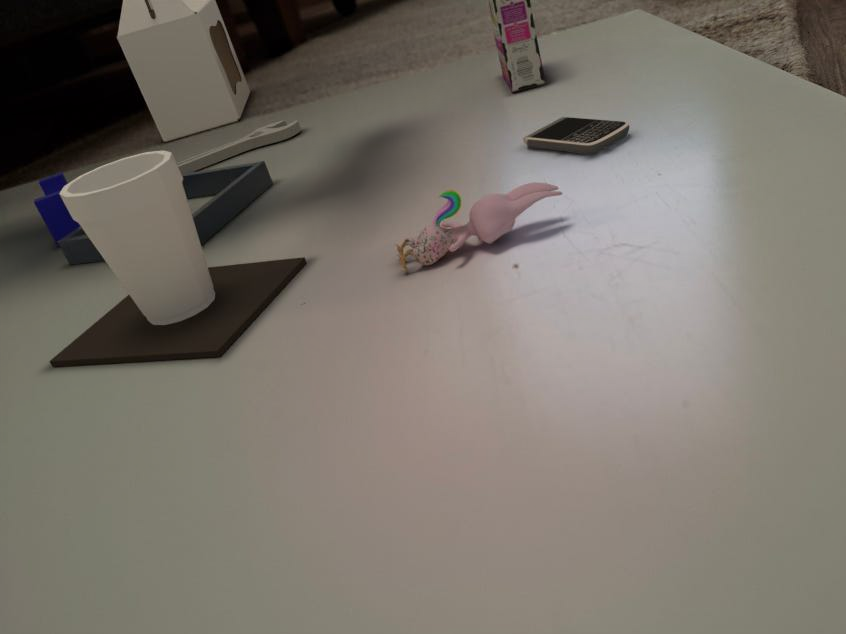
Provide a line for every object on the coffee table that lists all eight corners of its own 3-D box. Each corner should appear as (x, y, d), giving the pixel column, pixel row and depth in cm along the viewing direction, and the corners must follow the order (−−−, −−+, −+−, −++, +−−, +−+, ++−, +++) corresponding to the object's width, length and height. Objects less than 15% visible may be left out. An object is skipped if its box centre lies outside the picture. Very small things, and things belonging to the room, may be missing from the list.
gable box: (239, 121, 140) (167, -61, 126) (163, 143, 140) (82, -36, 126) (250, 92, 159) (189, -69, 145) (183, 111, 159) (115, -47, 145)
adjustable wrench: (134, 196, 117) (128, 184, 116) (132, 185, 122) (126, 174, 121) (303, 134, 122) (298, 122, 121) (294, 126, 127) (289, 115, 127)
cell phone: (595, 158, 85) (593, 144, 84) (521, 149, 93) (518, 136, 92) (635, 134, 87) (633, 121, 87) (560, 128, 95) (557, 115, 95)
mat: (52, 366, 74) (48, 361, 74) (156, 278, 86) (154, 273, 86) (220, 356, 68) (217, 350, 67) (306, 262, 80) (304, 256, 80)
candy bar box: (548, 84, 112) (522, -48, 104) (512, 94, 113) (483, -37, 104) (535, 67, 122) (510, -55, 114) (502, 76, 122) (474, -45, 114)
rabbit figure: (413, 295, 71) (575, 219, 70) (382, 235, 68) (550, 155, 67) (408, 266, 77) (558, 195, 76) (378, 209, 74) (534, 135, 73)
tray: (69, 265, 97) (56, 241, 96) (158, 200, 111) (148, 179, 110) (195, 250, 91) (184, 225, 89) (273, 183, 105) (264, 160, 103)
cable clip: (94, 234, 105) (71, 189, 102) (58, 247, 104) (33, 202, 101) (94, 209, 115) (73, 168, 112) (61, 221, 114) (39, 180, 111)
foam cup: (165, 287, 82) (103, 160, 75) (248, 275, 79) (190, 143, 72) (111, 339, 74) (36, 204, 68) (200, 329, 71) (131, 186, 65)
